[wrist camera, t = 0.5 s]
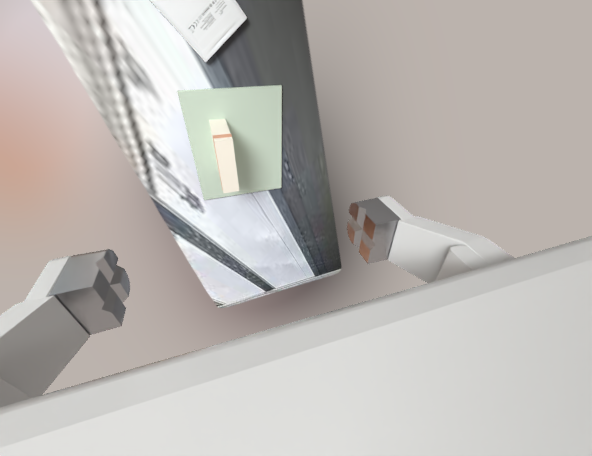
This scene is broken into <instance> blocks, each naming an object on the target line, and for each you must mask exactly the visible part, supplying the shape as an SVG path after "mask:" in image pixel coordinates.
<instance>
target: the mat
mask: <svg viewBox="0 0 592 456" xmlns="http://www.w3.org/2000/svg"><path fill="white" fill-rule="evenodd" d="M177 92H178V96H179V100H180V104H181V108H182V112H183V116H184V121H185V125H186V129H187V133H188V137H189V141H190V145H191V149H192V153H193V157H194V161H195V165H196V169H197V173H198V177H199V181H200V185H201V190H202V194H203V198H204V200H207V199H214V198H220V197H226V196H233V195H239V194H245V193H252V192H258V191H264V190H271V189H277V188H281V165H282V85H272V86H254V87H235V88H217V89H199V90H180V91H177ZM216 119H225V120H226V122H227V125H228V128H229V131H230V133H231V135H232V139H233V145H234V153H235V161H236V168H237V176H238V184H239V191H236V192H230V193H223V190H222V185H221V180H220V176H219V172H218V167H217V161H216V156H215V150H214V145H213V140H212V134H211V129H210V123H209V120H216Z"/></svg>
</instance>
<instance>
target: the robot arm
mask: <svg viewBox="0 0 592 456" xmlns="http://www.w3.org/2000/svg"><path fill="white" fill-rule="evenodd" d="M349 213H350V215H351V216H352V217H351V218H350V219H349V221H348V222H347V232H348V236H349V239H350V241H351V242H352V243H353V245H355V246H357V247H360V248H359V253H360V254H361V256H362V257H363V258H364V260H365V261H366V262H367V263H368V264H369V263H373V262H378V261H382V260H387V259H388V261H390V262H392V263H393V264H395V265H397V266H399V267H400V268H402V269H404V270H406V271H407V272H409V273H411V274H413V275H415V276H416V277H418V278H420V279H422V280H423V281H425V282H427V283H428V284H424V285H421V286H418V287H414V288H411V289H407V290H403V291H400V292H397V293H393V294H390V295H386V296H383V297H379V298H376V299H372V300H369V301H365V302H362V303H358V304H355V305H351V306H348V307H345V308H341V309H338V310H335V311H331V312H327V313H324V314H320V315H317V316H314V317H310V318H306V319H303V320H300V321H296V322H293V323H290V324H286V325H283V326H279V327H276V328H272V329H269V330H265V331H262V332H258V333H255V334H251V335H248V336H244V337H241V338H238V339H234V340H230V341H227V342H224V343H220V344H217V345H213V346H210V347H206V348H203V349H200V350H196V351H192V352H189V353H185V354H182V355H179V356H175V357H172V358H168V359H165V360H162V361H158V362H154V363H151V364H147V365H144V366H141V367H137V368H134V369H130V370H127V371H123V372H120V373H116V374H113V375H109V376H106V377H102V378H99V379H96V380H92V381H89V382H85V383H82V384H79V385H75V386H71V387H68V388H65V389H61V390H57V391H54V392H51V393H47V394H44V395H42V394H43V393H44V392H45V391H46V390H47V388H48V387H49V386H50V385H51V383H52V382H53V381H54V380H55V378H56V377H57V376H58V375H59V374H60V372H61V371H62V370H63V369H64V368H65V366H66V365H67V364H68V363H69V362H70V360H71V359H72V358H73V357H74V355H75V354H76V353H77V352H78V351H79V349H80V348H81V347H82V346H83V344H84V343H85V342H86V341H87V340H88V338H89V337H90V335H91V334H95V333H99V332H102V331H106V330H110V329H113V328H117V327H120V326H122V322H123V318H124V314H125V309H126V308H125V306H124V305H123V302H124V301H125V300H126V299H127V298H128V297H129V292H130V282H129V278H128V275H127V273H126V271H125V269H124V268H121V267H119V266H117V265H116V264H117V261H118V258H117V256H116V254H115V253H114V251H112V250H110V249H107V250H101V251H96V252H90V253H85V254H78V255H73V256H67V257H62V258H57V259H53V260H51V261H49V262H48V263H47V265H46V266H45V268H44V270H43V271H42V273H41V275H40V276H39V278H38V279H37V281H36V283H35V284H34V286H33V288H32V289H31V291H30V293H29V294H28V296H27V298H26V299H25V301H24V302H21V303H17V304H16V305H14V306H13V307H11V308H10V309H8V310H7V311H6V312H4V313H3V314H1V315H0V456H592V236H590V237H587V238H583V239H580V240H577V241H573V242H569V243H566V244H563V245H559V246H556V247H552V248H549V249H545V250H542V251H538V252H535V253H532V254H528V255H524V256H521V257H517V258H514V257H513V256H511V255H510V254H508V253H507V252H506V251H504V250H503V249H501V248H500V247H499V246H497V245H496V244H494V243H493V242H492V241H490V240H489V239H487V238H486V237H483V236H480V235H477V234H474V233H471V232H467V231H464V230H461V229H458V228H455V227H452V226H448V225H445V224H442V223H438V222H435V221H432V220H429V219H426V218H423V217H420V216H416V217H414V216H413V215H412V214H411V213H410V212H408V211H407V210H406V209H405V208H404V207H402V206H401V205H400V204H399V203H398V202H397V201H395V200H394V199H393V198H392V197H391V196H387V195H386V196H381V197H377V198H374V199H369V200H364V201H359V202H354V203H351V205H350V207H349Z"/></svg>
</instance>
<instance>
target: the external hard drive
mask: <svg viewBox="0 0 592 456" xmlns="http://www.w3.org/2000/svg"><path fill="white" fill-rule="evenodd" d="M150 1H151V2H152V3H153V4H154V6H155V7H156V8H157V9H158V10H159V11H160V12H161V13H162V14H163V16H164V17H165V18H166V19H167V20H168V21H169V22H170V23H171V24H172V26H173V27H174V28H175V29H176V30H177V31H178V32H179V33H180V35H181V36H182V37H183V38H184V39H185V40H186V41H187V42H188V43H189V45H190V46H191V47H192V48H193V49H194V50H195V51H196V52H197V53H198V55H199V56H200V57H201V58H202V59H203V60H204V61H205V62H207V61H208V60H209V59H210V58H211V56H212V55H213V54H214V53H215V52H216V51H217V50H218V49H219V48H220V47H221V46H222V45H223V43H224V42H225V41H226V40H227V39H228V38H229V37H230V36H231V35H232V34H233V33H234V32H235V31H236V30H237V29H238V28H239V26H240V25H241V24H242V23H243V22H244V21H245V20H246V19H247V17H246V15H245V14H244V12H243V11H242V9H241V8H240V6H239V5H238V3H237V2H236V0H150Z"/></svg>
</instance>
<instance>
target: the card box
mask: <svg viewBox="0 0 592 456" xmlns="http://www.w3.org/2000/svg"><path fill="white" fill-rule="evenodd" d="M209 123H210V129H211V134H212V140H213V145H214V150H215V156H216V161H217V167H218V172H219V176H220V180H221V185H222V190H223V193H230V192H236V191H239V184H238V176H237V168H236V161H235V153H234V145H233V139H232V135H231V133H230V131H229V128H228V125H227V122H226V120H225V119H216V120H209Z"/></svg>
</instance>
